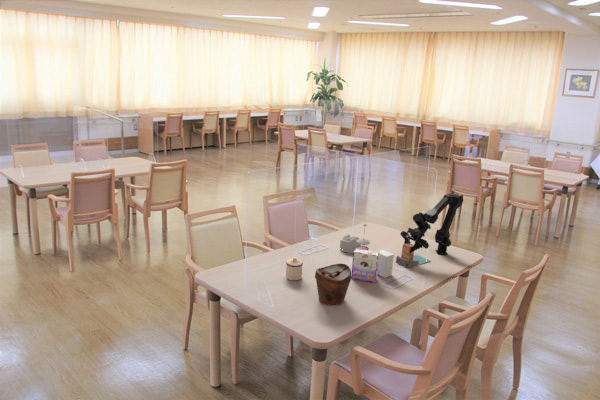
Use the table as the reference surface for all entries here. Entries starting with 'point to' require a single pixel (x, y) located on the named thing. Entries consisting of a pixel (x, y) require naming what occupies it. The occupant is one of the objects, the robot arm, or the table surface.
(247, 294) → the table surface
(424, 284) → the table surface
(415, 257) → the teal mat
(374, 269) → the candy box
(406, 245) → the terracotta block
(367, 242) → the french press
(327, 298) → the brown tapered cylinder
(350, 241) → the lumpy-topped squat cylinder
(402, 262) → the charcoal u-shaped frame
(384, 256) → the small box
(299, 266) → the teacup with lid
